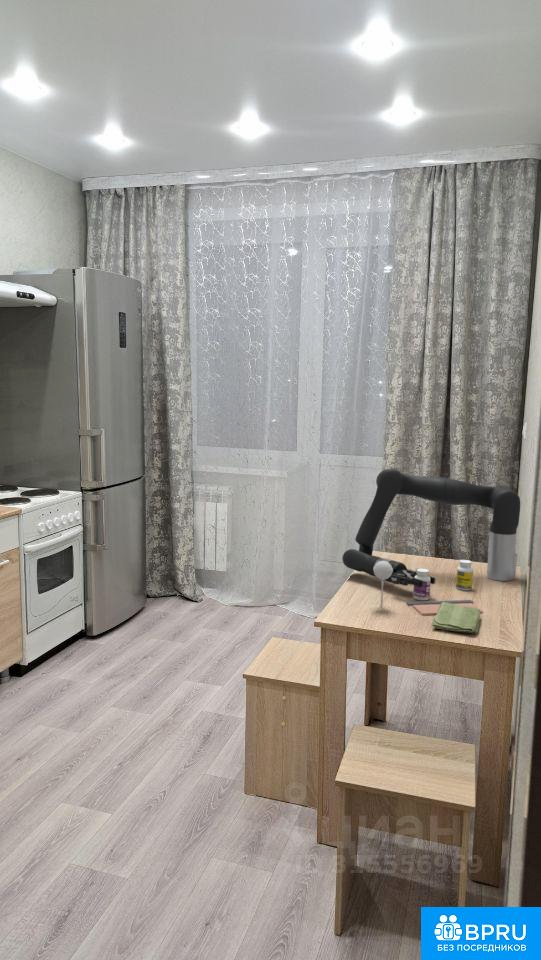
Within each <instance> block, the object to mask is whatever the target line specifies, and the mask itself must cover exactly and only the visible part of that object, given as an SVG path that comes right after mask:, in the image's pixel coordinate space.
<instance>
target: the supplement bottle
mask: <svg viewBox="0 0 541 960" xmlns="http://www.w3.org/2000/svg"><path fill="white" fill-rule="evenodd" d="M473 575H474V568H473V567H472V561H471V560H468V559H460V560H459V566H457V568H456V579H455V588H456V589H457V590H461V591H471V590H472V589H473V578H474V576H473Z"/></svg>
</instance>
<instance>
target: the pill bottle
mask: <svg viewBox="0 0 541 960" xmlns="http://www.w3.org/2000/svg"><path fill="white" fill-rule="evenodd" d="M416 569H417V572H416V573H417V575H416V576H415V577H414V578H416V579H419V580H422V581H423V587H418V586H415V585H413V592H412V593H413V596H412V597H413V599H415V600H418V601H428V600H430V597H431V596H430V595H431V584H430V581H431V579H430V577H429V576H430V575H429V574H430V570H429V569H426V568H416ZM428 575H429V576H428Z"/></svg>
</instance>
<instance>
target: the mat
mask: <svg viewBox="0 0 541 960" xmlns="http://www.w3.org/2000/svg"><path fill="white" fill-rule="evenodd" d="M442 602H446V603H451V604H455V605H459V606H467V607H473V608H478V609H480V607H478V606H477V605H475V604H474V601H473V600H471V599H463V600H462V599H461V600H459V599H458V600H435V601H434V600H432V601H431V600H430V601H428V600H424V601H406V605H407V606H408V607H412V608H413V609H414V610H415V611H417V613H419V614H420V615H421V616H436V615H437V612H438V610H439V607H440V605H441V603H442ZM483 613H484V611H483V610H482V609H480V614H483Z"/></svg>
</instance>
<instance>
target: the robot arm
mask: <svg viewBox="0 0 541 960" xmlns="http://www.w3.org/2000/svg"><path fill="white" fill-rule="evenodd" d="M375 479H376V480H375V483H376V486H377V488H376V492H375V495H374V497H373V500H372V502H371V505H370V506H369V509H368V511H367V513H366V514H365V516H364V517H363V519H362V522H361V524H360V526H359V528H358V531H357V533H356V536H355V538H354V539H355V542H356V543H357V544H358V545H359V547H358V550H357V549H355V548H354V549H353V548H350V549H348V550H345V552H343V554H342V558H341V559H342V560H341V561H342V563H343V565H344V566H345V567H346V568H348V569H351V570H353V571H356V572H359V573H362V572H363V573H365V574H368V575H370V576H372V577H376V576H375V574H374V571H373V568H374V566H375V565H376V563H378V562H380V561H386V562H388V563H389V564H390V565H391V566H392V568H393V572H392V575H391V576H390V577H389V578H388V579H385V580H384V581H386V582H388V583H392V584H394V585H402V586H406V587H407V586H408V585H409V586H414V585H415V586H418V587H423V581H422V580H419V579H416V578H414V577H415V576H416V575H417V573H416V572H417V569H418V568H416V569H415V570H413V569H411V568H407V566H406V565H405V563H403V562H400V561H397V560H393V559H389V558H383V557H380V556H377V555H373V552H374V551H373V550H374V544H375V543H376V540H377V537H378V535H379V533H380V530H381V528H382V526H383V523H384V520H385V517H386V515H387V512H388V511H389V509H390V507H391V504H392V503H393V501H394V500H395V497H396V496H397V495H405V496H406V495H408V496H411V497H413V496H414V497H417V498H421V499H424V500H427V501H430V502H436V503H439V504H447V505H454V506H465V505H466V506H468V505H470V506H471V505H473V506H480V507H485V508H487V509H488V508H489V509H492V510H493V514H492V521H491V523H490V524H489V525H490V526H489V536H488V537H489V539H488V549H487V550H488V551H487V565H486V566H487V568H486V578H488V579H490V580H494V581H500V582H501V581H502V582H508V581H512V580H516V576H517V575H516V574H517V562H518V561H517V560H518V554H517V553H516V541H517V531H518V530H517V529H518V527H519V524H520V513H521V498H520V496H519V495H518V493H517V492H515V491H514V490H512V489H510V488H508V487H501V486H487V485H479V484H478V485H477V484H474V483H470V482H466V481H463V480H458V479H452V478H449V477H442V476H441V477H439V476H420V475H419V476H417V475H413V474H407V473H403V472H400V471H399V470H398V469H395V468H386V469H383V470H381V471H380V472H379V473H378V475H377V476H376V478H375ZM428 576H429V577H430V579H431V581H430V585H434V584H436V577H433V576H431V575H428ZM376 578H377V577H376Z"/></svg>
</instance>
